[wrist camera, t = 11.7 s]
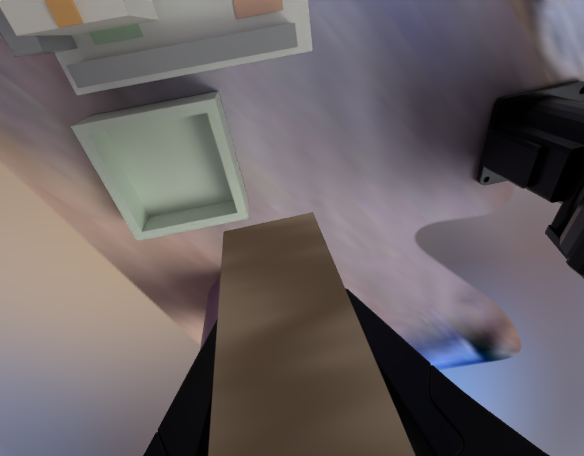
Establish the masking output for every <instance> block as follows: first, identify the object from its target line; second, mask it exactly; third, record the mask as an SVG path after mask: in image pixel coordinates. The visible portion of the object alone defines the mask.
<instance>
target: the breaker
mask: <svg viewBox="0 0 584 456" xmlns="http://www.w3.org/2000/svg"><path fill="white" fill-rule="evenodd" d="M0 8H1V10H2V11H3V13H4V15H5V17H6V18H7V20H8V22H9V23H10V25H11V27H12V29H13V30H14V32H15V34H16V36H47V35H80V34H85V33H91V32H96V31H102V30H107V29H112V28H118V27H123V26H129V25H134V24H140V23H145V22H150V21H156V20H158V17H157V14H156V11H155V8H154V5H153V2H152V0H0Z"/></svg>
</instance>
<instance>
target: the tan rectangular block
mask: <svg viewBox="0 0 584 456" xmlns="http://www.w3.org/2000/svg"><path fill="white" fill-rule="evenodd" d="M208 456H415V453H414V451H413V449H412V446H411V444H410V441H409V439H408V437H407V434H406V432H405V430H404V427H403V425H402V422H401V420H400V418H399V415H398V413H397V411H396V408H395V406H394V404H393V401H392V399H391V396H390V394H389V392H388V389H387V387H386V385H385V382H384V380H383V377H382V375H381V373H380V370H379V368H378V366H377V363H376V361H375V358H374V356H373V354H372V351H371V349H370V347H369V344H368V342H367V339H366V337H365V335H364V332H363V330H362V328H361V325H360V323H359V321H358V318H357V316H356V313H355V311H354V309H353V306H352V304H351V302H350V299H349V297H348V294H347V292H346V290H345V287H344V285H343V283H342V280H341V278H340V275H339V273H338V271H337V268H336V266H335V264H334V261H333V259H332V257H331V254H330V252H329V249H328V247H327V245H326V242H325V240H324V238H323V235H322V233H321V230H320V228H319V226H318V223H317V221H316V219H315V216H314V214H313V212H312V213H307V214H303V215H298V216H294V217H289V218H284V219H280V220H275V221H271V222H266V223H261V224H257V225H252V226H248V227H243V228H238V229H234V230H229V231H225V232H224V235H223V250H222V264H221V279H220V293H219V307H218V322H217V336H216V351H215V365H214V379H213V394H212V408H211V423H210V437H209V451H208Z"/></svg>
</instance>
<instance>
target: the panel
mask: <svg viewBox="0 0 584 456" xmlns="http://www.w3.org/2000/svg"><path fill="white" fill-rule="evenodd" d="M152 2H153V5H154V8H155V11H156V14H157V17H158V20H156V21H150V22H145V23H140V24H134V25H129V26H123V27H118V28H112V29H107V30H102V31H96V32H91V33H85V34H80V35H47V36H16V34H15V32H14V30H13V29H12V27H11V25H10V23H9V22H8V20H7V18H6V17H5V15H4V13H3V11H2V10H1V8H0V33H1V35H2V36H3V38H4V40H5V41H6V43H7V45H8V46H9V48H10V50H11V51H12V53H13V55H14V56H15V57H18V56H28V55H38V54H47V53H54V54H55V56H56V57H57V59H58V61H59V63H60V65H61V67H62V69H63V70H64V72H65V74H66V76H67V78H68V80H69V82H70V84H71V85H72V87H73V89H74V91H75V93H76V95H82V94H88V93H93V92H98V91H104V90H109V89H114V88H119V87H125V86H130V85H135V84H141V83H146V82H151V81H156V80H162V79H167V78H172V77H178V76H183V75H188V74H193V73H199V72H204V71H209V70H215V69H220V68H225V67H230V66H236V65H241V64H246V63H252V62H257V61H262V60H267V59H273V58H278V57H283V56H289V55H294V54H299V53H304V52H310V51H313V49H312V39H311V29H310V18H309V8H308V0H152Z"/></svg>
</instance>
